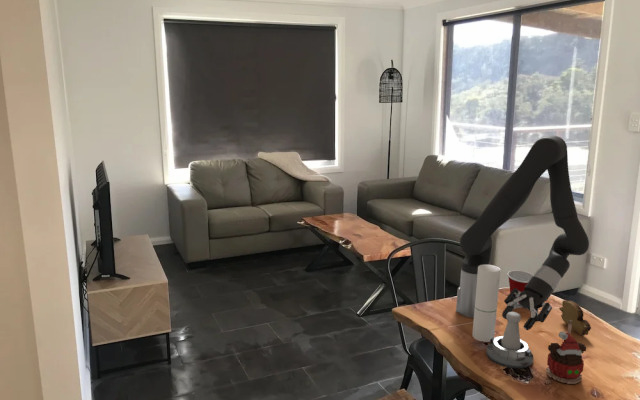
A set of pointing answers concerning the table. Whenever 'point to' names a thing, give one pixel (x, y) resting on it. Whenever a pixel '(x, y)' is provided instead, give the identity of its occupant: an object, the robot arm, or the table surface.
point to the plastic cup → (518, 280)
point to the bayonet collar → (509, 354)
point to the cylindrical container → (486, 302)
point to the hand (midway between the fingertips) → (514, 323)
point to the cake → (566, 359)
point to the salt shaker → (512, 332)
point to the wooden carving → (574, 317)
